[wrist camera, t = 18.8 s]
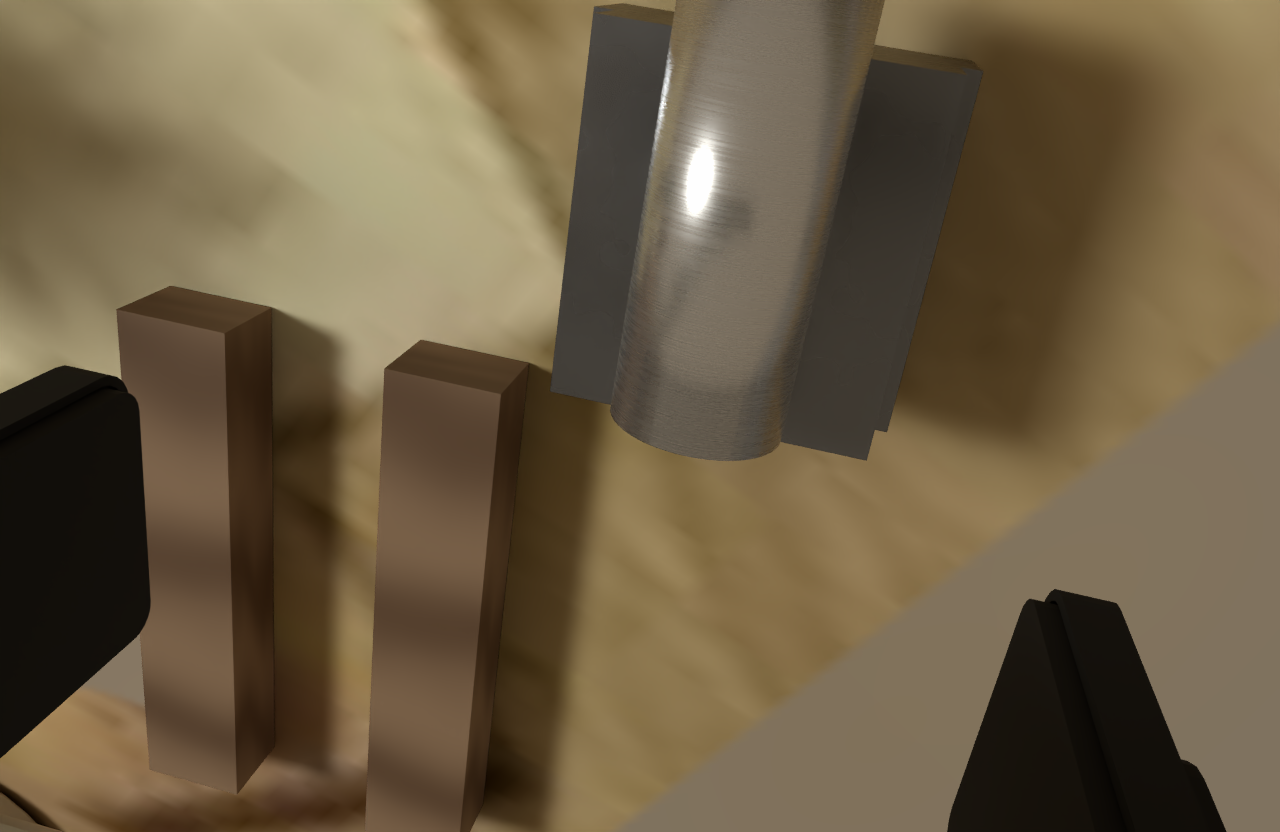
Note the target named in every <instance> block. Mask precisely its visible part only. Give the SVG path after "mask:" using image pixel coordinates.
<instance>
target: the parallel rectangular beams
mask: <svg viewBox="0 0 1280 832" xmlns="http://www.w3.org/2000/svg"><path fill="white" fill-rule="evenodd" d="M117 323H118V337H119V350H120V364H121V378H122V381H123V382H124V384H125V386H126V388H127V390H128V393H130V394H132V395H133V396H134V397H135V398H136V400H137V402H138V405H139V411H140V427H141V444H142V461H143V478H144V494H145V511H146V528H147V545H148V562H149V579H150V596H151V607H150V612H149V616H148V619H147V621H146V624H145V626H144V627H143V629H142V631H141V632H140V641H141V655H142V667H143V682H144V696H145V710H146V724H147V738H148V752H149V766H150V770H152V771H156V772H159V773H163V774H166V775H170V776H173V777H177V778H180V779H184V780H187V781H191V782H194V783H198V784H201V785H205V786H208V787H212V788H215V789H219V790H222V791H226V792H229V793H233V794H236V795H237V794H238V793H239V791H240V790H241V789H242V788H243V786H244V785H245V784H246V782H247V781H248V780H249V779H250V777H251V776H252V775H253V773H254V772H255V771H256V770H257V768H258V767H259V766H260V765H261V763H262V762H263V761H264V759H265V758H266V757H267V756H268V754H269V753H270V752H271V751H272V749H273V748H274V620H273V475H272V329H271V307H266V306H261V305H257V304H252V303H247V302H243V301H238V300H233V299H229V298H224V297H220V296H215V295H210V294H206V293H201V292H196V291H192V290H187V289H182V288H178V287H173V286H169V287H167V288H164V289H162V290H160V291H158V292H155V293H153V294H151V295H149V296H146V297H144V298H142V299H139V300H137V301H135V302H133V303H130V304H128V305H126V306H123V307H121V308H119V309H117ZM528 368H529V363H526V362H521V361H517V360H512V359H507V358H503V357H498V356H493V355H489V354H484V353H479V352H475V351H470V350H466V349H461V348H456V347H452V346H447V345H442V344H438V343H433V342H428V341H424V340H420V341H419V342H417V343H416V344H415V345H414V346H412V347H411V348H410V349H409V350H407V351H406V352H405V353H403V354H402V355H401V356H400V357H398V358H397V359H396V360H395V361H393V362H392V363H391V364H390V365H388V366H387V367H386V368H385V369H384V392H383V416H382V440H381V464H380V487H379V511H378V535H377V559H376V583H375V607H374V630H373V654H372V678H371V702H370V726H369V750H368V774H367V797H366V821H365V831H366V832H470V831H471V828H472V826H473V824H474V822H475V820H476V818H477V816H478V814H479V812H480V810H481V808H482V806H483V799H484V790H485V780H486V771H487V761H488V751H489V742H490V732H491V723H492V713H493V703H494V694H495V684H496V675H497V665H498V655H499V646H500V636H501V627H502V617H503V607H504V598H505V588H506V579H507V569H508V560H509V550H510V540H511V531H512V521H513V512H514V502H515V492H516V483H517V473H518V464H519V454H520V444H521V435H522V425H523V416H524V406H525V396H526V387H527V377H528Z"/></svg>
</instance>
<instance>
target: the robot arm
mask: <svg viewBox="0 0 1280 832" xmlns="http://www.w3.org/2000/svg"><path fill="white" fill-rule="evenodd" d="M150 607H151V596H150V579H149V562H148V545H147V528H146V511H145V494H144V478H143V461H142V444H141V427H140V411H139V405H138V402H137V400H136V398H135V397H134V396H133V395H132V394H130V393H128V390H127V388H126V386H125V384H124V382H123V381H122V380H120V379H119V378H118V377H115V376H111V375H106V374H102V373H97V372H93V371H88V370H84V369H80V368H75V367H70V366H65V365H64V366H60V367H57V368H54V369H52V370H50V371H48V372H46V373H43V374H41V375H39V376H37V377H35V378H33V379H31V380H29V381H26V382H24V383H22V384H20V385H18V386H16V387H14V388H12V389H9V390H7V391H5V392H3V393H1V394H0V758H1V757H2V756H3V755H5V754H6V753H7V752H8V751H9V750H10V749H11V748H12V747H14V746H15V745H16V744H17V743H18V742H19V741H20V740H21V739H23V738H24V737H25V736H26V735H27V734H28V733H29V732H30V731H32V730H33V729H34V728H35V727H36V726H37V725H38V724H39V723H41V722H42V721H43V720H44V719H45V718H46V717H47V716H48V715H50V714H51V713H52V712H53V711H54V710H55V709H56V708H57V707H59V706H60V705H61V704H62V703H63V702H64V701H65V700H66V699H68V698H69V697H70V696H71V695H72V694H73V693H74V692H75V691H76V690H78V689H79V688H80V687H81V686H82V685H83V684H84V683H85V682H87V681H88V680H89V679H90V678H91V677H92V676H93V675H94V674H96V673H97V672H98V671H99V670H100V669H101V668H102V667H103V666H105V665H106V664H107V663H108V662H109V661H110V660H111V659H112V658H113V657H115V656H116V655H117V654H118V653H119V652H120V651H121V650H123V649H124V648H125V647H126V646H127V645H128V644H129V643H130V642H132V641H133V640H134V639H135V638H136V637H137V635H139V633H140V632H141V631H142V629H143V627H144V626H145V624H146V621H147V619H148V616H149V612H150ZM0 832H63V831H59V830H56V829H52V828H49V827H46V826H42V825H39V824H37V823H36V822H35V821H34V820H33V819H32V818H31V817H30V816H29V815H28V814H27V813H26V812H25V811H24V810H22V809H21V808H20V807H19V806H18V805H16V804H15V803H14V802H13V801H11V800H10V799H9V798H8V797H7V796H5V795H4V794H2V793H1V792H0ZM947 832H1226V830H1225V827H1224V825H1223V822H1222V820H1221V818H1220V815H1219V813H1218V811H1217V809H1216V806H1215V803H1214V801H1213V799H1212V796H1211V794H1210V791H1209V789H1208V787H1207V784H1206V782H1205V780H1204V778H1203V776H1202V775H1201V773H1200V772H1199V770H1198V768H1197V767H1196V766H1195V765H1193V764H1191V763H1190V762H1188V761H1185V760H1181V759H1180V756H1179V754H1178V751H1177V749H1176V746H1175V744H1174V741H1173V739H1172V736H1171V734H1170V731H1169V729H1168V726H1167V724H1166V721H1165V719H1164V716H1163V714H1162V711H1161V709H1160V706H1159V704H1158V701H1157V699H1156V696H1155V694H1154V691H1153V689H1152V686H1151V684H1150V682H1149V679H1148V676H1147V674H1146V671H1145V669H1144V666H1143V664H1142V661H1141V659H1140V656H1139V654H1138V651H1137V649H1136V646H1135V644H1134V642H1133V639H1132V636H1131V634H1130V631H1129V629H1128V626H1127V624H1126V621H1125V619H1124V617H1123V614H1122V611H1121V610H1120V608H1119V606H1118V605H1117V603H1114V602H1110V601H1105V600H1101V599H1096V598H1092V597H1088V596H1083V595H1079V594H1074V593H1070V592H1065V591H1061V590H1057V589H1054V590H1053V591H1051V592H1050V593H1049V595H1048V596H1047V598H1046V599H1045V602H1042V601H1038V600H1033V599H1029V600H1027V601H1026V603H1025V604H1024V606H1023V608H1022V611H1021V613H1020V616H1019V619H1018V622H1017V625H1016V627H1015V630H1014V633H1013V636H1012V639H1011V641H1010V644H1009V647H1008V650H1007V653H1006V656H1005V659H1004V662H1003V664H1002V667H1001V670H1000V673H999V676H998V678H997V681H996V684H995V687H994V690H993V693H992V696H991V698H990V701H989V704H988V707H987V710H986V713H985V715H984V718H983V721H982V724H981V727H980V730H979V732H978V735H977V738H976V741H975V744H974V747H973V750H972V752H971V755H970V758H969V761H968V764H967V767H966V770H965V772H964V775H963V778H962V781H961V784H960V787H959V789H958V792H957V795H956V798H955V801H954V804H953V806H952V810H951V813H950V818H949V823H948V831H947Z"/></svg>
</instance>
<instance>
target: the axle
mask: <svg viewBox="0 0 1280 832" xmlns="http://www.w3.org/2000/svg"><path fill="white" fill-rule="evenodd" d="M884 2H885V0H676V6H675V12H674V18H673V24H672V30H671V37H670V43H669V49H668V55H667V61H666V67H665V74H664V80H663V86H662V92H661V98H660V104H659V110H658V117H657V123H656V129H655V135H654V141H653V147H652V154H651V160H650V166H649V172H648V178H647V184H646V191H645V197H644V203H643V209H642V215H641V221H640V228H639V234H638V240H637V246H636V252H635V258H634V265H633V271H632V277H631V283H630V289H629V295H628V302H627V308H626V314H625V320H624V326H623V332H622V339H621V345H620V351H619V357H618V363H617V369H616V376H615V382H614V388H613V394H612V400H611V407H610V412H611V416H612V417H613V419H614V421H615V422H616V423H617V424H618V425H619V426H620V427H621V428H622V429H623V430H624V431H626V432H627V433H628V434H630V435H631V436H633V437H635V438H637V439H638V440H640V441H642V442H645V443H647V444H649V445H651V446H654V447H656V448H659V449H662V450H665V451H668V452H672V453H675V454H679V455H683V456H688V457H693V458H700V459H707V460H718V461H737V460H748V459H753V458H758V457H761V456H764V455H767V454H769V453H771V452H772V451H774V450H775V449H776V448H777V447H778V446H779V444H780V441H781V437H782V433H783V429H784V425H785V420H786V416H787V412H788V408H789V404H790V399H791V395H792V391H793V387H794V382H795V378H796V374H797V370H798V365H799V361H800V357H801V353H802V349H803V344H804V340H805V336H806V332H807V327H808V323H809V319H810V315H811V310H812V306H813V302H814V298H815V294H816V289H817V285H818V281H819V277H820V272H821V268H822V264H823V260H824V255H825V251H826V247H827V243H828V239H829V234H830V230H831V226H832V222H833V217H834V213H835V209H836V205H837V200H838V196H839V192H840V188H841V184H842V179H843V175H844V171H845V167H846V162H847V158H848V154H849V150H850V145H851V141H852V137H853V133H854V129H855V124H856V120H857V116H858V112H859V107H860V103H861V99H862V95H863V90H864V86H865V82H866V78H867V74H868V69H869V65H870V61H871V57H872V52H873V48H874V44H875V40H876V35H877V31H878V27H879V23H880V18H881V14H882V10H883V6H884Z"/></svg>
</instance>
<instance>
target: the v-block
mask: <svg viewBox="0 0 1280 832" xmlns="http://www.w3.org/2000/svg"><path fill="white" fill-rule="evenodd" d="M673 18H674V12H672V11H666V10H660V9H654V8H648V7H642V6H636V5H629V4H623V3H622V4H613V5H604V6H595V7H594V12H593V21H592V30H591V38H590V47H589V56H588V65H587V73H586V82H585V91H584V99H583V108H582V117H581V126H580V134H579V143H578V152H577V160H576V169H575V178H574V187H573V195H572V204H571V213H570V221H569V230H568V239H567V248H566V256H565V265H564V274H563V282H562V291H561V300H560V309H559V317H558V326H557V335H556V343H555V352H554V361H553V370H552V379H551V387H550V391H551V392H555V393H560V394H564V395H569V396H573V397H578V398H583V399H587V400H592V401H596V402H601V403H605V404H610V405H611V400H612V394H613V388H614V382H615V376H616V369H617V363H618V357H619V351H620V345H621V339H622V332H623V326H624V320H625V314H626V308H627V302H628V295H629V289H630V283H631V277H632V271H633V265H634V258H635V252H636V246H637V240H638V234H639V228H640V221H641V215H642V209H643V203H644V197H645V191H646V184H647V178H648V172H649V166H650V160H651V154H652V147H653V141H654V135H655V129H656V123H657V117H658V110H659V104H660V98H661V92H662V86H663V80H664V74H665V67H666V61H667V55H668V49H669V43H670V37H671V30H672V24H673ZM982 74H983V70H982V69H980V68H979V67H978V66H977V65H976V64H975V63H974V62H973V61H969V60H963V59H957V58H951V57H945V56H939V55H933V54H927V53H921V52H914V51H908V50H902V49H896V48H890V47H884V46H878V45H874V48H873V52H872V57H871V61H870V65H869V69H868V74H867V78H866V82H865V86H864V90H863V95H862V99H861V103H860V107H859V112H858V116H857V120H856V124H855V129H854V133H853V137H852V141H851V145H850V150H849V154H848V158H847V162H846V167H845V171H844V175H843V179H842V184H841V188H840V192H839V196H838V200H837V205H836V209H835V213H834V217H833V222H832V226H831V230H830V234H829V239H828V243H827V247H826V251H825V255H824V260H823V264H822V268H821V272H820V277H819V281H818V285H817V289H816V294H815V298H814V302H813V306H812V310H811V315H810V319H809V323H808V327H807V332H806V336H805V340H804V344H803V349H802V353H801V357H800V361H799V365H798V370H797V374H796V378H795V382H794V387H793V391H792V395H791V399H790V404H789V408H788V412H787V416H786V420H785V425H784V429H783V433H782V437H781V441H780V442H784V443H788V444H793V445H798V446H802V447H807V448H811V449H816V450H820V451H825V452H830V453H834V454H839V455H843V456H848V457H852V458H857V459H862V460H866V461H867V457H868V454H869V450H870V446H871V442H872V438H873V434H874V431H875V430H879V431H883V432H887V430H888V426H889V422H890V419H891V415H892V411H893V407H894V404H895V400H896V396H897V392H898V389H899V385H900V381H901V377H902V374H903V370H904V366H905V362H906V359H907V355H908V351H909V347H910V344H911V340H912V336H913V332H914V329H915V325H916V321H917V317H918V314H919V310H920V306H921V303H922V299H923V295H924V291H925V288H926V284H927V280H928V276H929V273H930V269H931V265H932V261H933V258H934V254H935V250H936V246H937V243H938V239H939V235H940V231H941V228H942V224H943V220H944V216H945V213H946V209H947V205H948V201H949V198H950V194H951V190H952V186H953V183H954V179H955V175H956V171H957V168H958V164H959V160H960V156H961V153H962V149H963V145H964V141H965V138H966V134H967V130H968V126H969V123H970V119H971V115H972V111H973V108H974V104H975V100H976V96H977V93H978V89H979V85H980V81H981V78H982Z"/></svg>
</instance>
